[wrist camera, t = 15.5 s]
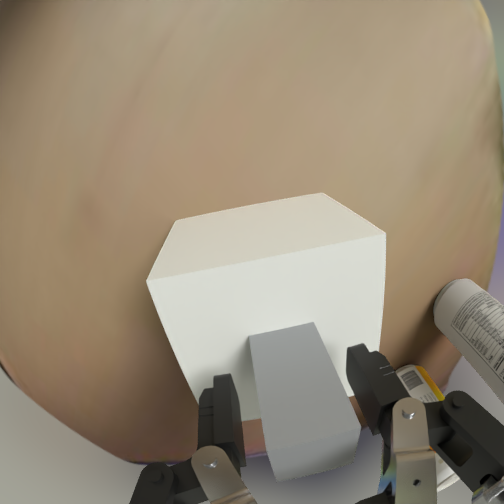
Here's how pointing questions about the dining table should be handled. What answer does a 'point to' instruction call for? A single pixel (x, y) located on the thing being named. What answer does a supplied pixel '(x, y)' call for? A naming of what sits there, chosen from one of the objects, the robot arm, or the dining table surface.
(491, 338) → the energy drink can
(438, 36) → the dining table surface
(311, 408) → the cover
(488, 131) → the dining table surface
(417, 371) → the yellow white cylinder
